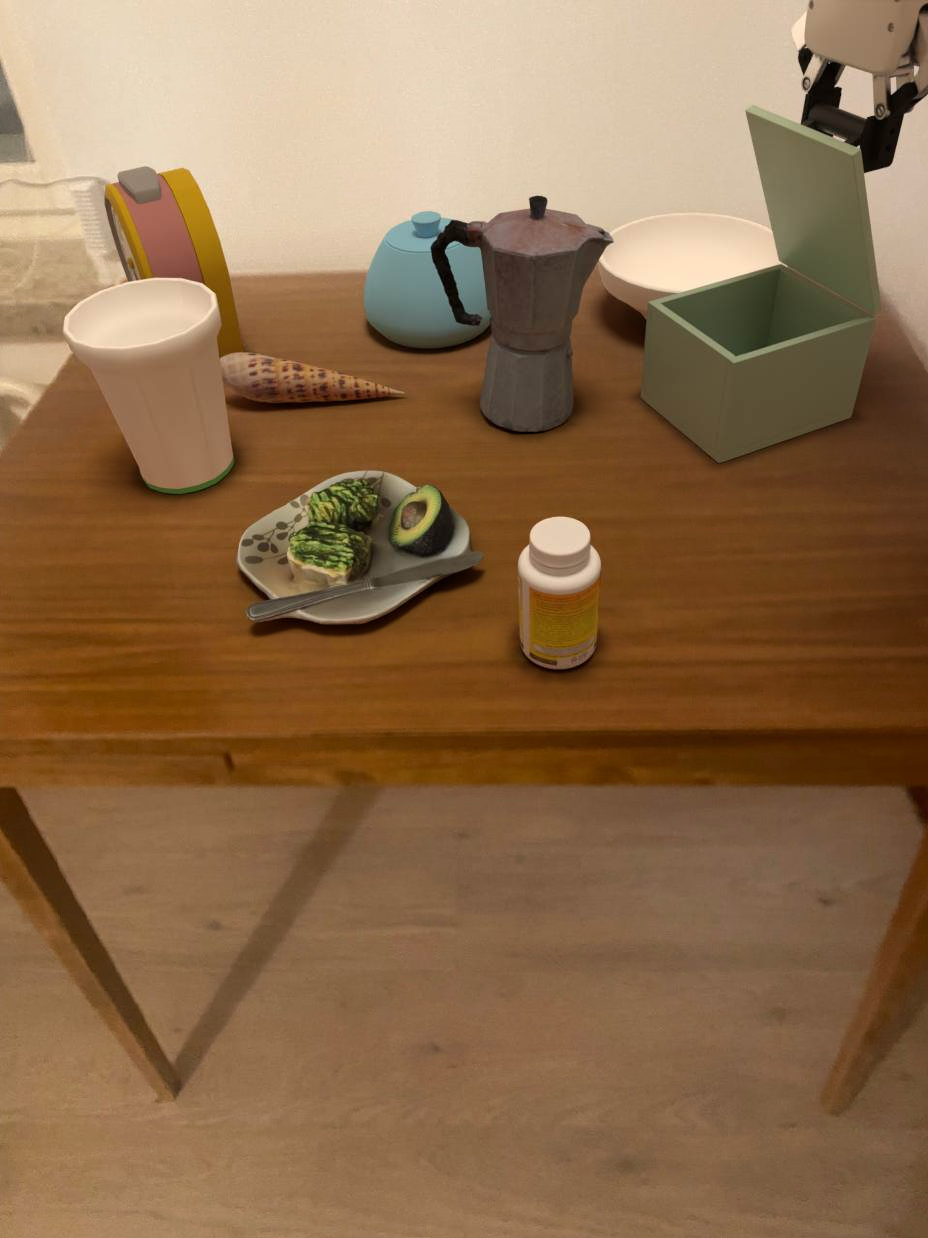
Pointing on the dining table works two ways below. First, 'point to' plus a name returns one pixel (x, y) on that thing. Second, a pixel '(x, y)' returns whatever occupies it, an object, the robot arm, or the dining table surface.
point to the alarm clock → (171, 238)
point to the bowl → (681, 255)
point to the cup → (159, 376)
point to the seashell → (293, 381)
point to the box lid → (818, 198)
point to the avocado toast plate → (353, 549)
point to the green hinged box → (753, 360)
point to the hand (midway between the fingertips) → (843, 153)
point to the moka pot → (526, 307)
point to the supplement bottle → (559, 594)
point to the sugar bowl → (423, 287)
